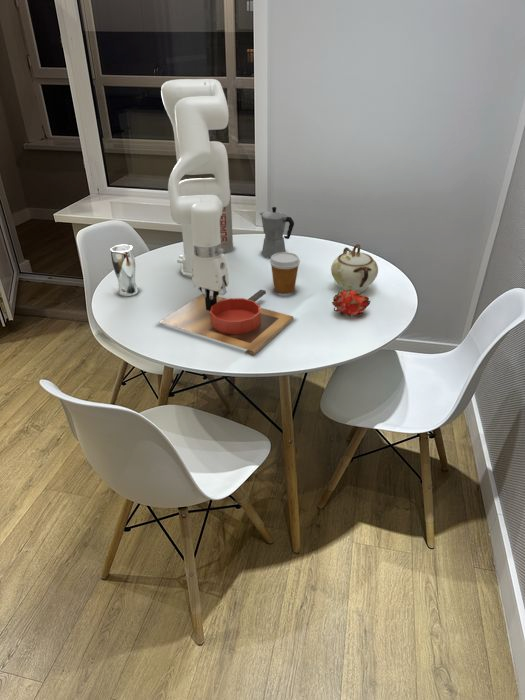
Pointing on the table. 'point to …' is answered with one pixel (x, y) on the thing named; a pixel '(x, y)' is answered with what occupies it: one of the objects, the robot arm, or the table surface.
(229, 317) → the skillet
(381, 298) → the table surface
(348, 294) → the dragon fruit
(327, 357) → the table surface
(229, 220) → the thermos bottle
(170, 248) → the table surface
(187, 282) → the table surface
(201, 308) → the board
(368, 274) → the sugar bowl
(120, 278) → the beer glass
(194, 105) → the robot arm
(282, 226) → the coffeepot
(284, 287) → the disposable coffee cup
